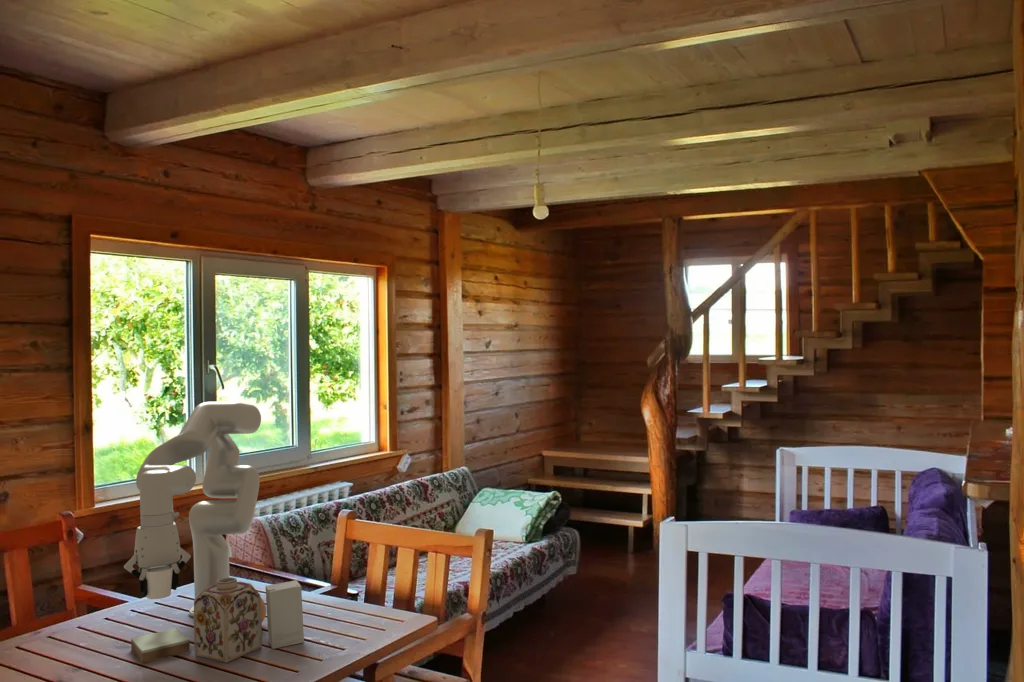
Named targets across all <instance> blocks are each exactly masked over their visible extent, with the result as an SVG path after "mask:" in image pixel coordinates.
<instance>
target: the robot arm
mask: <svg viewBox="0 0 1024 682" xmlns="http://www.w3.org/2000/svg"><path fill="white" fill-rule="evenodd" d="M261 423H262V415H261V412H260V410H259V409H258V407H257V406H255V405H253V404H250V403H243V402H238V401H205V402H201V403H198V405H196V406H195V407H194V409H193V410H192V412H191V414H190V415H189V416H188V419H187V420H186V422H185V423H184V425H183V427H182V429H181V430H180V432H179V434H177V435H175V436H174V437H172V438H170V439H169V440H166V441H165V442H163V443H162V444H160V445H158V446H156V447H155V448H154V449H152V451H151V452H150V453H148V455H147V456H146V458H145V459H144V460H143V462H142V464H141V465H140V467H139V470H138V472H137V474H136V479H135V484H136V487H137V490H139V508H140V509H139V512H140V526H137V527H136V531H135V532H136V533H135V541H134V553H133V555H132V557H131V558H130V559H129V560H128V561H127V562H126V563H125V564H124V565H123V569H125V570H126V571H127V572H129V573H130V574H131V575H133V576H134V577H136V579H138V592H139V593H141V595H142V596H143V597H146V596H147V580H146V579H145V576H146V572H147V571H148V568H152V567H158V566H163V565H171V566H172V567H173V572H172V584H171V590H173V591H176V590H177V586H178V585H179V573H181V570H182V569H183V568H184V567H185V565H186V563H187V562H188V561H190V559H191V557H192V555H191V553H188V552H187V551H185V549H183V548H182V547H181V543H180V536H179V530H178V527H177V523H176V522H175V519H178V518H180V512H178V511H177V512H176V511H174V497H173V496H175V495H176V496H177V495H184V494H187V493H189V492H190V491H191V490H192V489H193V488H194V486H195V485H196V481H197V475H196V472H195V470H194V469H193V468H192V467H191V466H188V465H185V464H178V463H181V462H186V461H188V460H192V459H194V458H197V457H199V456H201V455H203V454H204V453H205V452H206V451H208V449H209V455H208V459H207V462H206V463H207V464H206V468H205V472H204V477H203V481H202V492H203V494H204V495H205V496H207V497H208V498H213V499H215V500H212V499H211V500H210V499H209V500H201V501H198V502H197V503H195V504H193V505H192V506H191V508H190V509H189V510H190V511H189V513H188V522H189V527H190V532H191V533H190V534H191V537H192V550H193V580H194V582H193V583H194V584H193V585H194V588H193V589H194V601H195V600H196V598H197V597H198V596H199V595H200V593H202V592H203V590H204V589H205V588H206V587H209V586H212V585H216V584H217V580H219V579H223V578H229V577H230V576H231V575H230V549H229V545H228V542H227V541H226V539H225V538H224V536H223V535H242V534H246V533H247V532H249V530H250V529H251V527H252V525H253V521H254V516H255V511H256V506H257V502H258V501H257V500H258V495H259V493H260V492H259V490H260V474H259V471H258V470H257V468H256V467H254V466H253V465H248V464H239V460H240V456H241V455H240V454H241V453H240V449H239V447H238V444H237V443H236V442H235V441H234V439H232V437H231V436H230V435H237V434H239V435H242V434H243V435H245V434H246V435H247V434H250V435H251V434H254V433H256V432H257V431H258V430H259V428H260V427H261ZM216 499H217V500H216ZM218 499H220V500H218ZM225 499H228V500H225ZM229 499H231V500H229ZM234 499H235V500H234ZM181 556H182V557H181ZM134 565H136V566H138V567H139V568H138V570H137V569H136V568H134V567H133V566H134ZM188 614H189V615H190V617H193V618H194V605H192V607H190V608H189V611H188Z"/></svg>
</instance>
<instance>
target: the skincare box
mask: <svg viewBox="0 0 1024 682" xmlns="http://www.w3.org/2000/svg"><path fill="white" fill-rule="evenodd" d="M265 602H266V603H265V605H266V617H267V619H266V620H267V636H268V638H267V639H268V643H269V645H270V647H271V649H272V650H274V649H279V648H285V647H288V646H294V645H298V644H302V643H305V635H304V634H305V633H304V632H305V631H304V619H303V618H304V617H303V613H304V612H303V595H302V585H301V584H300V583H299V581H298V580H296V579H295V580H290V581H286V582H279V583H275V584H268V585H265Z"/></svg>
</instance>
